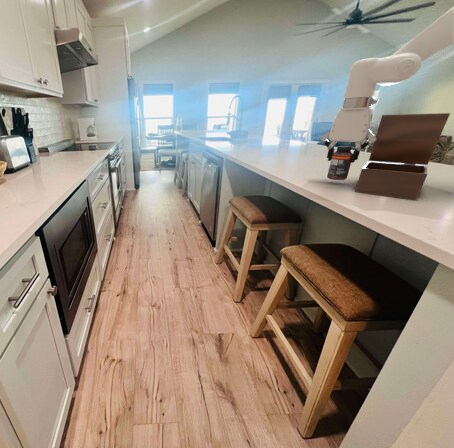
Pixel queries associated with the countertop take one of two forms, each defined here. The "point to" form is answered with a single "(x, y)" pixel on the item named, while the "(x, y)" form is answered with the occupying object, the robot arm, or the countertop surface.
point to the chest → (392, 179)
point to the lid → (408, 137)
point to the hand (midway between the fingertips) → (341, 160)
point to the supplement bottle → (340, 163)
